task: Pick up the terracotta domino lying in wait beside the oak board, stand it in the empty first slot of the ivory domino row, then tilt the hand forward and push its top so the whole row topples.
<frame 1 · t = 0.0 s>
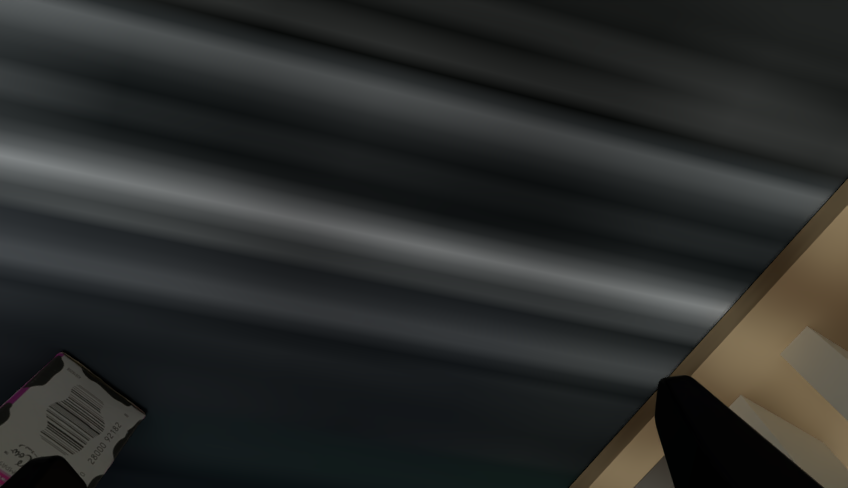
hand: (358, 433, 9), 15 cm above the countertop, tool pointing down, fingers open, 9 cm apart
domino board: (838, 337, 26), on the countertop
candy bar box: (38, 443, 29), on the countertop
domino 2: (770, 431, 27), point 1 cm above the countertop, touching domino board
domino 3: (836, 366, 26), point 1 cm above the countertop, touching domino board
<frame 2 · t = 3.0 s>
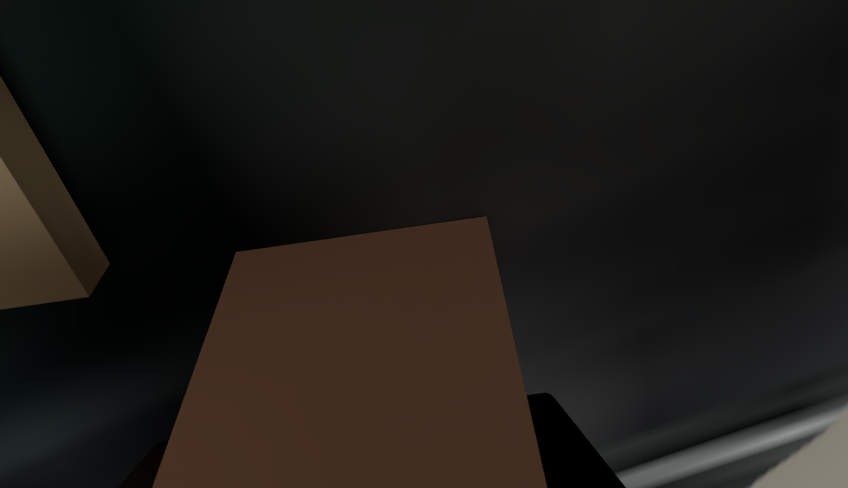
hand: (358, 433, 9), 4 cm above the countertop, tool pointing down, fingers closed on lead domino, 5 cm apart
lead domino: (367, 265, 12), on the countertop, touching gripper
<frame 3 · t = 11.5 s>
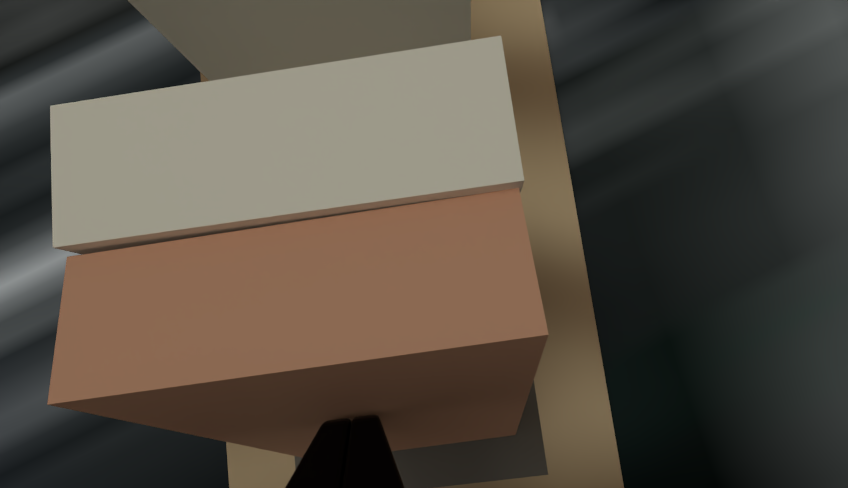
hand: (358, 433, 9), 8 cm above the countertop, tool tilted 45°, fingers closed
domino board: (379, 104, 18), on the countertop
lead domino: (412, 415, 15), point 1 cm above the countertop, tilted 14°, touching domino 2, domino board
domino 2: (395, 264, 16), point 1 cm above the countertop, touching domino board, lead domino
domino 3: (378, 123, 17), point 1 cm above the countertop, touching domino board
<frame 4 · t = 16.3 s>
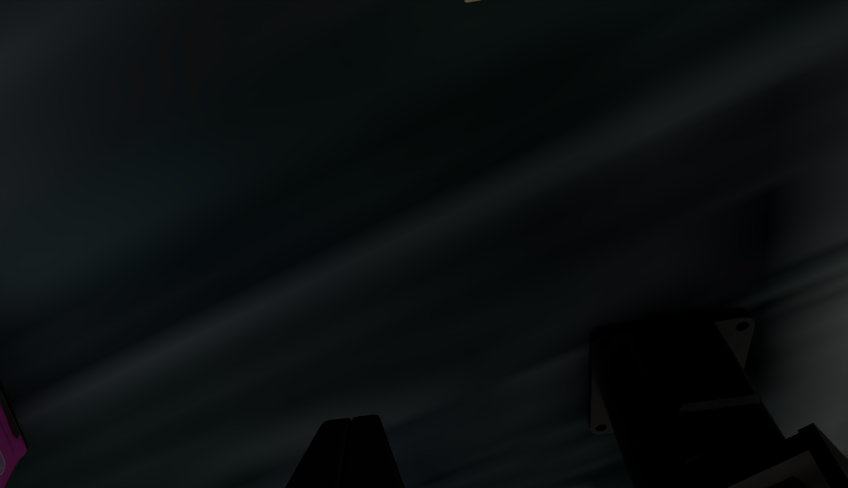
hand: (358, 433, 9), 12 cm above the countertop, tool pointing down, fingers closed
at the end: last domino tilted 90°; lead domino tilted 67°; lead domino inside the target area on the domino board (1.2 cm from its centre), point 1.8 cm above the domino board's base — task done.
